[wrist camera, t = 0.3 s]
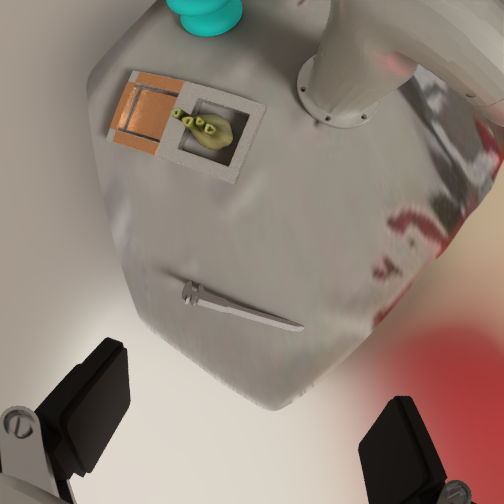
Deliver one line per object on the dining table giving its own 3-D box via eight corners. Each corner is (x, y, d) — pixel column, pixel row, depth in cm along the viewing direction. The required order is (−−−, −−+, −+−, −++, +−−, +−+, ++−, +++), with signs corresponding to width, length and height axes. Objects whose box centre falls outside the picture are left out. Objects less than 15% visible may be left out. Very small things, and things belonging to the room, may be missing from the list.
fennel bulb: (192, 128, 39) (162, 113, 28) (220, 109, 38) (199, 86, 27) (213, 158, 40) (189, 153, 29) (241, 139, 39) (227, 126, 28)
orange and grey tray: (139, 74, 37) (132, 70, 35) (266, 109, 38) (266, 105, 35) (113, 141, 40) (105, 139, 38) (236, 183, 41) (233, 184, 38)
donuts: (249, -30, 23) (209, 17, 26) (254, 4, 33) (223, 47, 35) (188, -41, 22) (149, 3, 25) (203, -10, 32) (172, 30, 35)
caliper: (188, 284, 46) (175, 300, 40) (190, 278, 46) (177, 294, 40) (301, 330, 47) (304, 351, 41) (304, 325, 46) (307, 345, 40)
